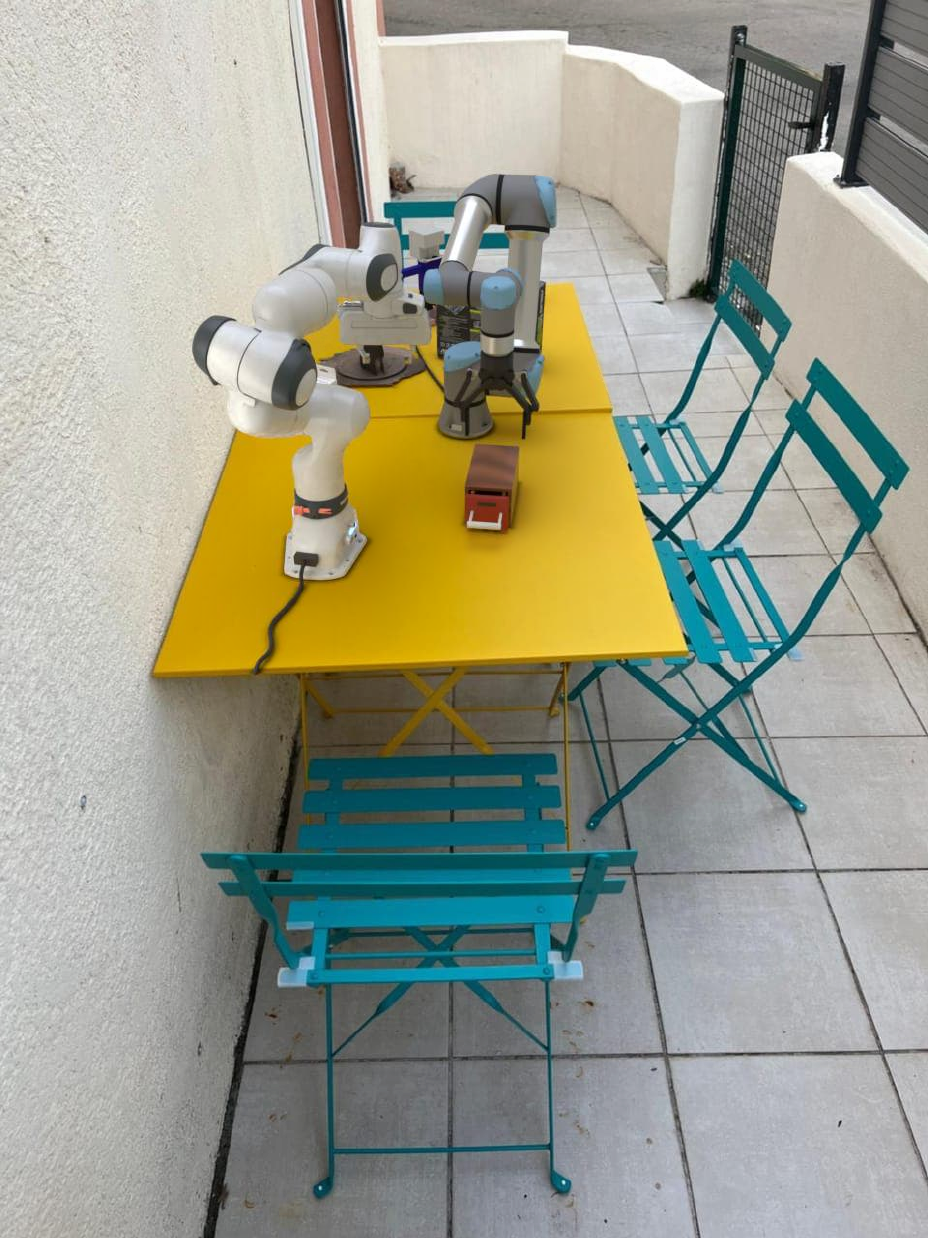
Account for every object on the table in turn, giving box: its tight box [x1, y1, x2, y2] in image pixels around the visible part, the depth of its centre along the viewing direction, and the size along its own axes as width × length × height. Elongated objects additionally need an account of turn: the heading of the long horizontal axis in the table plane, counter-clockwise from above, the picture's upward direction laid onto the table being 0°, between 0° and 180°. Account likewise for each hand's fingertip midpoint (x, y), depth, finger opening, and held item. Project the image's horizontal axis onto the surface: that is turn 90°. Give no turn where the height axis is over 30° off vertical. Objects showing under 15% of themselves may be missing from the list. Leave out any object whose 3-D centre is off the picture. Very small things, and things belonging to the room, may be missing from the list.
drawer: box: [465, 490, 509, 531], centre depth 210 cm, size 25×10×9 cm, turn 172°
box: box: [435, 270, 547, 359], centre depth 273 cm, size 34×7×27 cm, turn 68°
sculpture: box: [316, 345, 426, 387], centre depth 273 cm, size 33×35×16 cm
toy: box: [401, 223, 446, 326], centre depth 298 cm, size 35×10×30 cm, turn 130°
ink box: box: [316, 363, 337, 385], centre depth 249 cm, size 9×5×15 cm, turn 62°
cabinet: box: [464, 443, 520, 528], centre depth 215 cm, size 20×11×11 cm, turn 172°
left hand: (387, 362), depth 199 cm, fingers open, 8 cm apart
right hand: (495, 435), depth 212 cm, fingers open, 13 cm apart
